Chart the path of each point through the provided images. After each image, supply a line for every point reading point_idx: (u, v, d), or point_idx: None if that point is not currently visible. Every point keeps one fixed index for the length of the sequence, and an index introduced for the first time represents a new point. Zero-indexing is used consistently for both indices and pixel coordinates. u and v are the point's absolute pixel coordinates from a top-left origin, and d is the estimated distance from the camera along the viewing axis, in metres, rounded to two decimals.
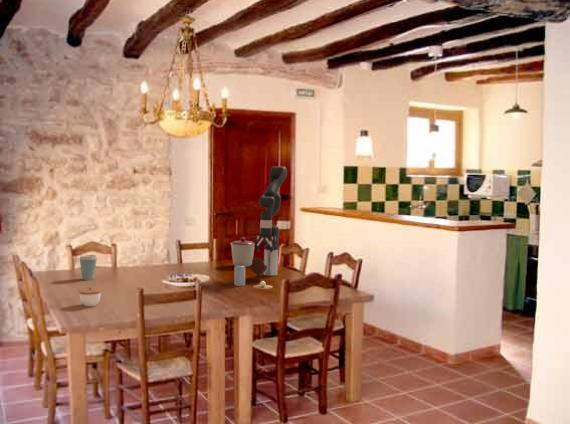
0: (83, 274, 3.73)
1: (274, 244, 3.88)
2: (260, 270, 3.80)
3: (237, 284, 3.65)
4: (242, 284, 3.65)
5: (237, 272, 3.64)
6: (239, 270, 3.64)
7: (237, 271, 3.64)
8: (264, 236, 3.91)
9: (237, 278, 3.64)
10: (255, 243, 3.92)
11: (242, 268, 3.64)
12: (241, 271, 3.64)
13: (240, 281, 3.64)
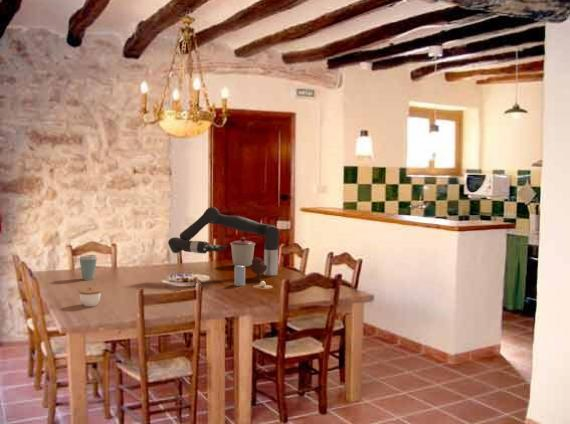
0: (83, 274, 3.73)
1: (210, 251, 3.66)
2: (260, 270, 3.80)
3: (237, 284, 3.65)
4: (242, 284, 3.65)
5: (237, 272, 3.64)
6: (239, 270, 3.64)
7: (237, 271, 3.64)
8: None
9: (237, 278, 3.64)
10: None
11: (242, 268, 3.64)
12: (241, 271, 3.64)
13: (240, 281, 3.64)
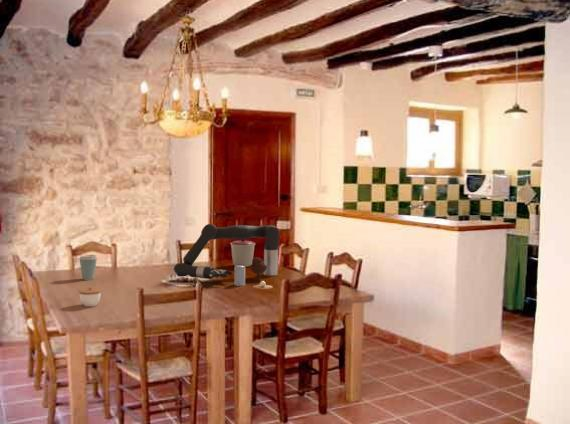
0: (83, 274, 3.73)
1: (216, 277, 3.64)
2: (260, 270, 3.80)
3: (237, 284, 3.65)
4: (242, 284, 3.65)
5: (237, 272, 3.64)
6: (239, 270, 3.64)
7: (237, 271, 3.64)
8: None
9: (237, 278, 3.64)
10: None
11: (242, 268, 3.64)
12: (241, 271, 3.64)
13: (240, 281, 3.64)
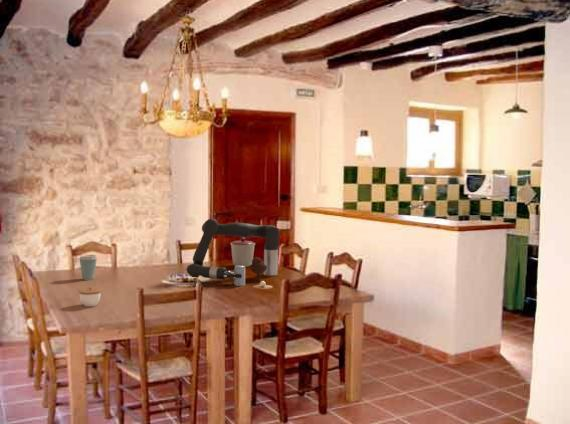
0: (83, 274, 3.73)
1: None
2: (260, 270, 3.80)
3: (237, 284, 3.65)
4: (242, 284, 3.65)
5: (237, 272, 3.64)
6: (239, 270, 3.64)
7: (237, 271, 3.64)
8: None
9: (237, 278, 3.64)
10: None
11: (242, 268, 3.64)
12: (241, 271, 3.64)
13: (240, 281, 3.64)
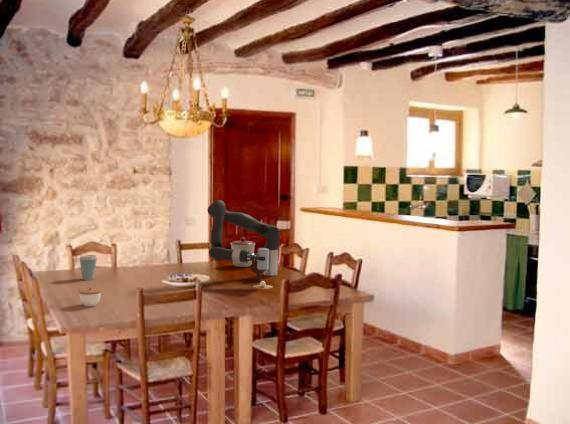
0: (83, 274, 3.73)
1: (255, 260, 3.57)
2: (260, 270, 3.80)
3: (260, 267, 3.59)
4: (265, 267, 3.60)
5: (261, 255, 3.59)
6: (263, 253, 3.58)
7: (261, 254, 3.59)
8: None
9: (260, 261, 3.59)
10: None
11: (266, 251, 3.59)
12: (265, 254, 3.59)
13: (263, 264, 3.59)
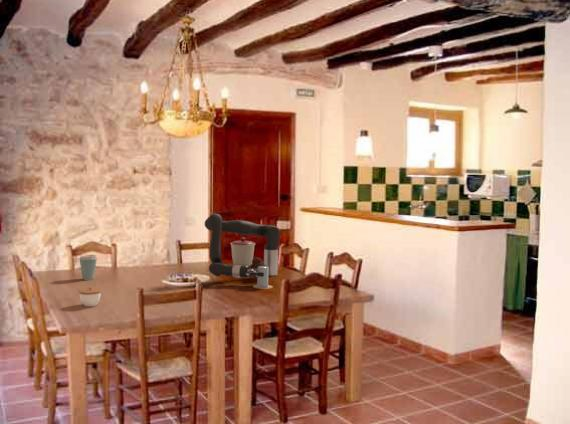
0: (83, 274, 3.73)
1: (253, 276, 3.57)
2: None
3: (260, 285, 3.60)
4: (265, 285, 3.61)
5: None
6: (262, 271, 3.59)
7: (260, 272, 3.60)
8: None
9: (260, 279, 3.60)
10: None
11: (265, 269, 3.60)
12: (264, 272, 3.60)
13: (263, 282, 3.60)
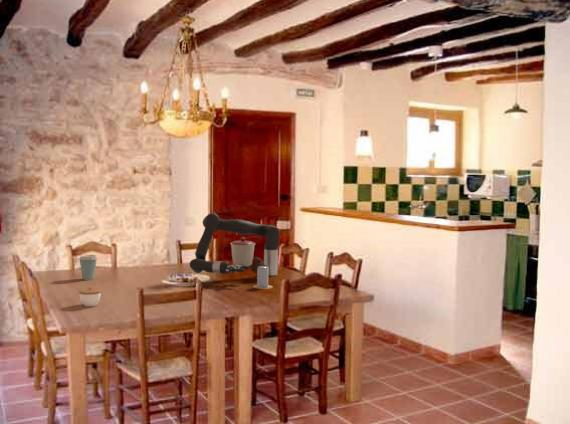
0: (83, 274, 3.73)
1: (233, 272, 3.61)
2: None
3: (260, 285, 3.60)
4: (265, 285, 3.61)
5: (260, 273, 3.60)
6: (262, 271, 3.59)
7: (260, 272, 3.60)
8: None
9: (260, 279, 3.60)
10: None
11: (265, 269, 3.60)
12: (264, 272, 3.60)
13: (263, 282, 3.60)
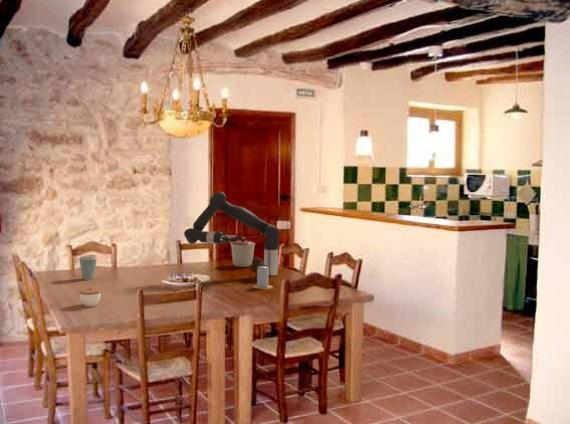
0: (83, 274, 3.73)
1: (227, 241, 3.65)
2: None
3: (260, 285, 3.60)
4: (265, 285, 3.61)
5: (260, 273, 3.60)
6: (262, 271, 3.59)
7: (260, 272, 3.60)
8: None
9: (260, 279, 3.60)
10: None
11: (265, 269, 3.60)
12: (264, 272, 3.60)
13: (263, 282, 3.60)
